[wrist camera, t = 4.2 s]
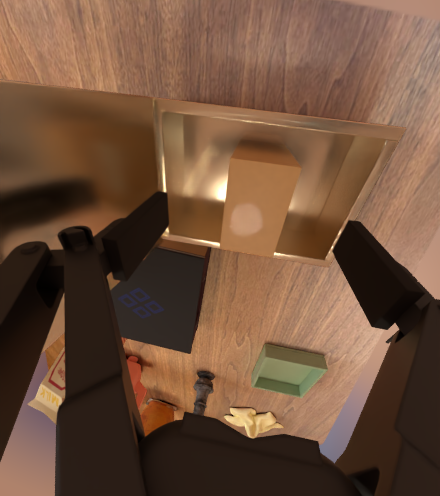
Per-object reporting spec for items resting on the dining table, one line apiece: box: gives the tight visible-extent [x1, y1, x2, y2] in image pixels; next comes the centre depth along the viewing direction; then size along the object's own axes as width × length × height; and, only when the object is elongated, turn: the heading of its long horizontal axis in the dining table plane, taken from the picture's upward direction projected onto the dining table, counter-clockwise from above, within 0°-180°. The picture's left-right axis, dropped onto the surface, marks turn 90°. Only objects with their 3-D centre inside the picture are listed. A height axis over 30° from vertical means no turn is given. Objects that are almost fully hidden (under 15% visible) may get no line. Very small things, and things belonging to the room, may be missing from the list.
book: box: [110, 239, 211, 354], centre depth 35 cm, size 17×25×7 cm
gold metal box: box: [151, 97, 406, 267], centre depth 22 cm, size 20×14×7 cm
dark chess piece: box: [193, 371, 215, 416], centre depth 55 cm, size 6×6×12 cm
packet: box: [219, 140, 302, 258], centre depth 20 cm, size 5×8×10 cm, turn 174°
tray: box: [251, 344, 328, 398], centre depth 48 cm, size 13×16×3 cm
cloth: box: [224, 408, 284, 438], centre depth 71 cm, size 22×19×6 cm
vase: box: [140, 398, 177, 436], centre depth 69 cm, size 21×20×30 cm
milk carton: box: [28, 337, 127, 424], centre depth 42 cm, size 9×9×20 cm
